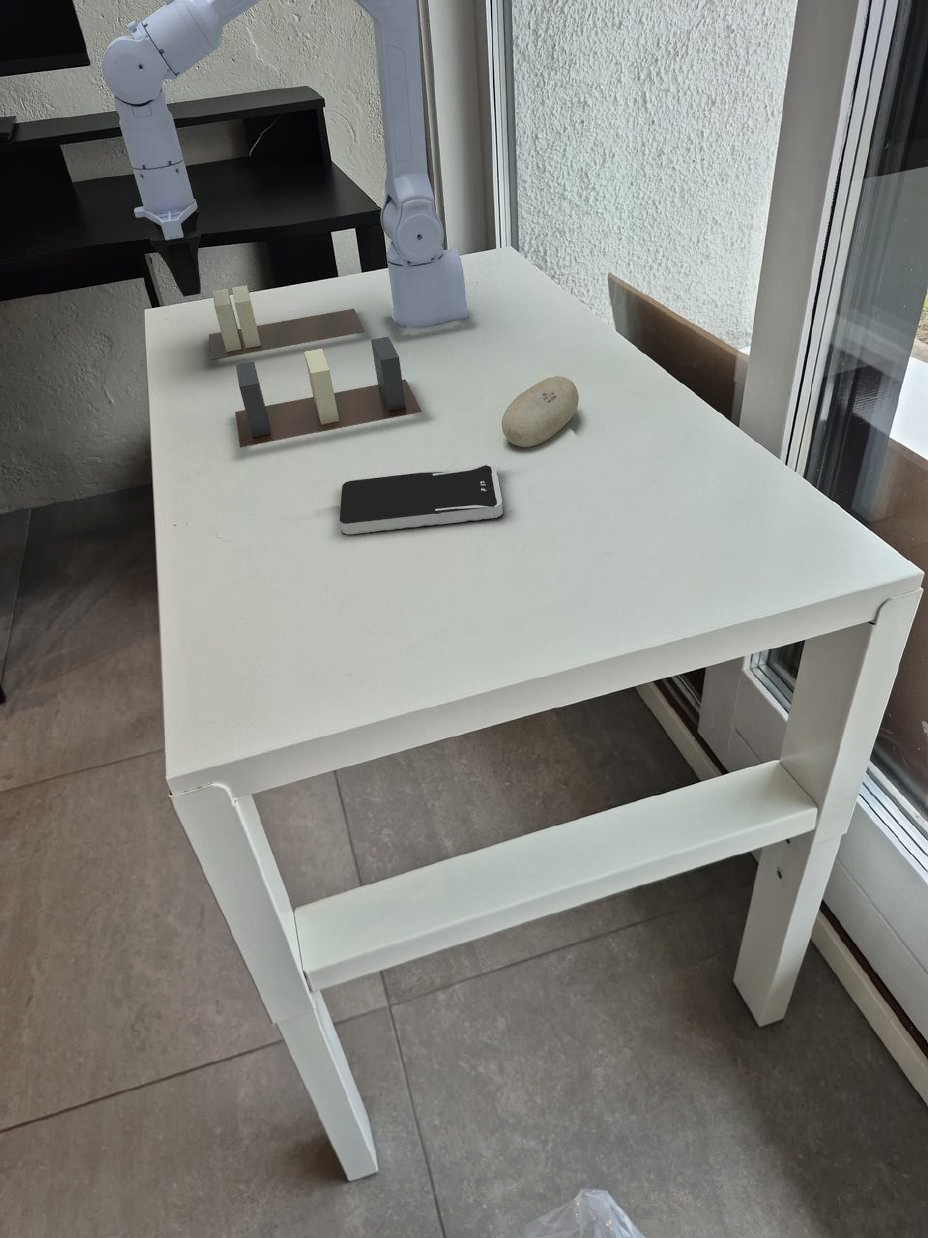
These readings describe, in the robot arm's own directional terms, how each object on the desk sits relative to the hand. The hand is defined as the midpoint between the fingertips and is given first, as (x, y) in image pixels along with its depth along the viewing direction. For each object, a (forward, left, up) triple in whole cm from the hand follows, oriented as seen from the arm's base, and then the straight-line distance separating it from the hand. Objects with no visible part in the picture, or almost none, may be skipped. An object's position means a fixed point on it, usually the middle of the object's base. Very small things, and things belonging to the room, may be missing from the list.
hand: (191, 284), depth 110 cm
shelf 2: (-12, +22, -10) cm, 27 cm away
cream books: (-4, -3, -9) cm, 10 cm away
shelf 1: (-10, -3, -10) cm, 15 cm away
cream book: (-12, +22, -9) cm, 27 cm away
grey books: (-12, +22, -9) cm, 27 cm away
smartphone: (-18, +44, -10) cm, 49 cm away
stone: (-33, +35, -10) cm, 49 cm away
